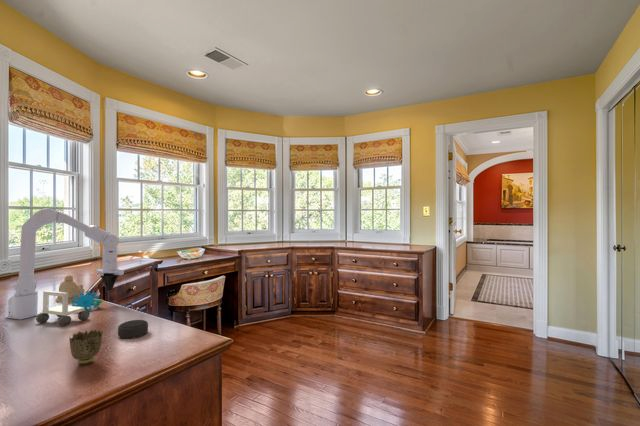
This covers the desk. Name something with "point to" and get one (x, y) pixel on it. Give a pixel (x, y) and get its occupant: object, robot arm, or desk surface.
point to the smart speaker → (132, 329)
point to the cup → (85, 346)
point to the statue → (70, 289)
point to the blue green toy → (87, 300)
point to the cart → (60, 309)
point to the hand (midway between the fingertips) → (109, 290)
